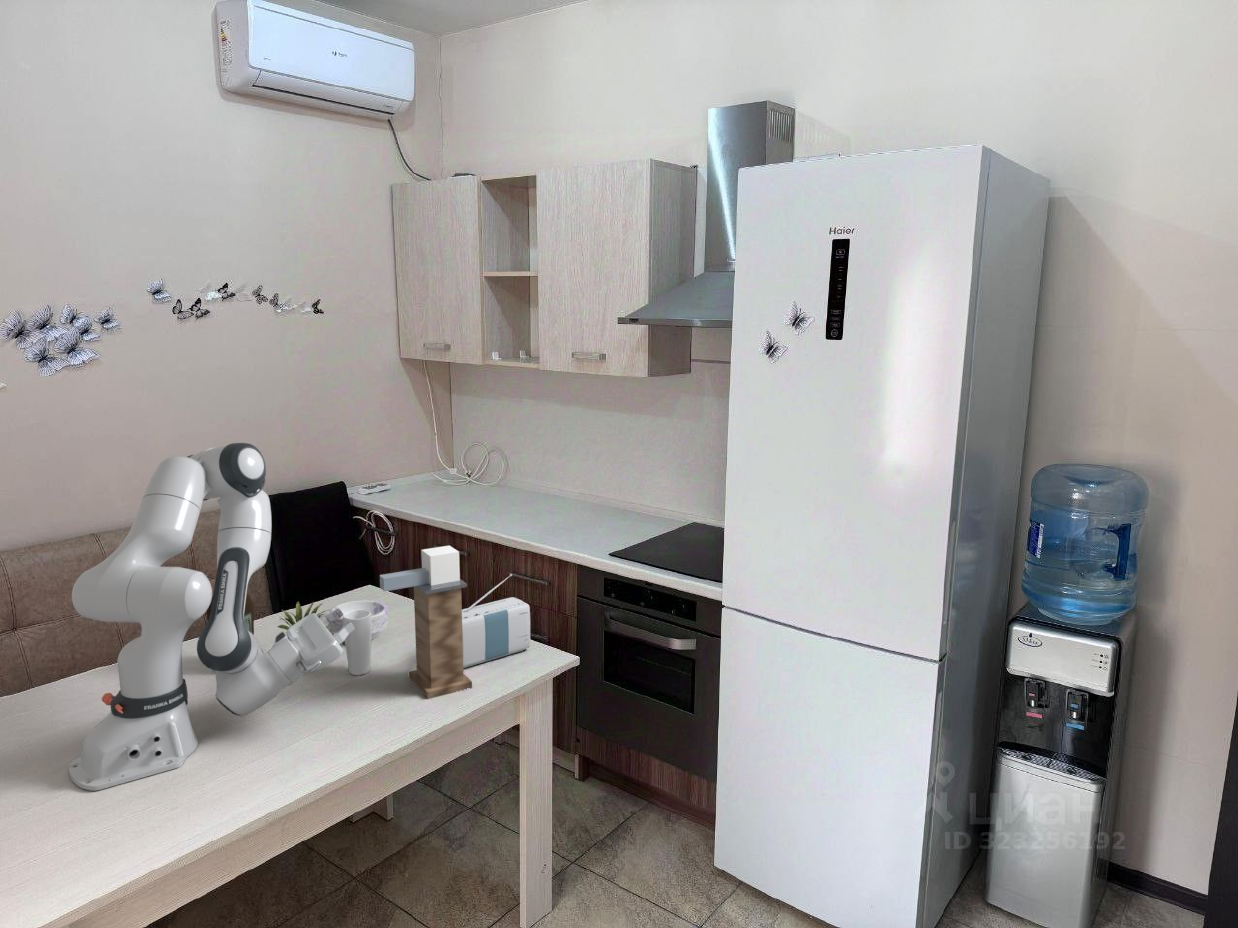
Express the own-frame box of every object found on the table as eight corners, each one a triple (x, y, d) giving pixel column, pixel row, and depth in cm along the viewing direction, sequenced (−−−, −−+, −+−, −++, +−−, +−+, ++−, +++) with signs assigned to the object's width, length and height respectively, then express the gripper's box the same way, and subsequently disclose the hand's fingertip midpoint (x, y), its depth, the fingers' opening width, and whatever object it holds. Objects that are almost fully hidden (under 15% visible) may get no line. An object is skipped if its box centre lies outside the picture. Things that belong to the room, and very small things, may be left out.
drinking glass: (356, 679, 205) (353, 621, 202) (339, 672, 209) (336, 614, 206) (379, 670, 210) (377, 613, 207) (362, 663, 214) (360, 607, 211)
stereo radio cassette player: (461, 672, 210) (459, 596, 206) (445, 661, 216) (443, 587, 212) (532, 651, 223) (531, 579, 219) (515, 641, 229) (514, 571, 225)
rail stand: (427, 698, 196) (424, 592, 191) (408, 677, 206) (405, 576, 201) (472, 687, 201) (469, 583, 196) (451, 667, 212) (448, 568, 207)
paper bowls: (400, 633, 234) (399, 605, 232) (357, 651, 221) (355, 623, 220) (362, 621, 242) (361, 595, 240) (318, 639, 229) (316, 611, 227)
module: (386, 593, 189) (385, 563, 188) (378, 585, 194) (376, 556, 193) (459, 580, 199) (459, 551, 197) (450, 573, 204) (449, 545, 202)
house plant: (312, 680, 204) (308, 617, 201) (261, 675, 207) (256, 612, 204) (343, 656, 218) (340, 596, 215) (294, 651, 220) (290, 592, 217)
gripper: (294, 665, 173) (351, 622, 179) (274, 632, 190) (327, 593, 195) (312, 686, 176) (368, 643, 181) (290, 652, 193) (342, 613, 198)
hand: (346, 617), depth 188 cm, fingers open, 8 cm apart
